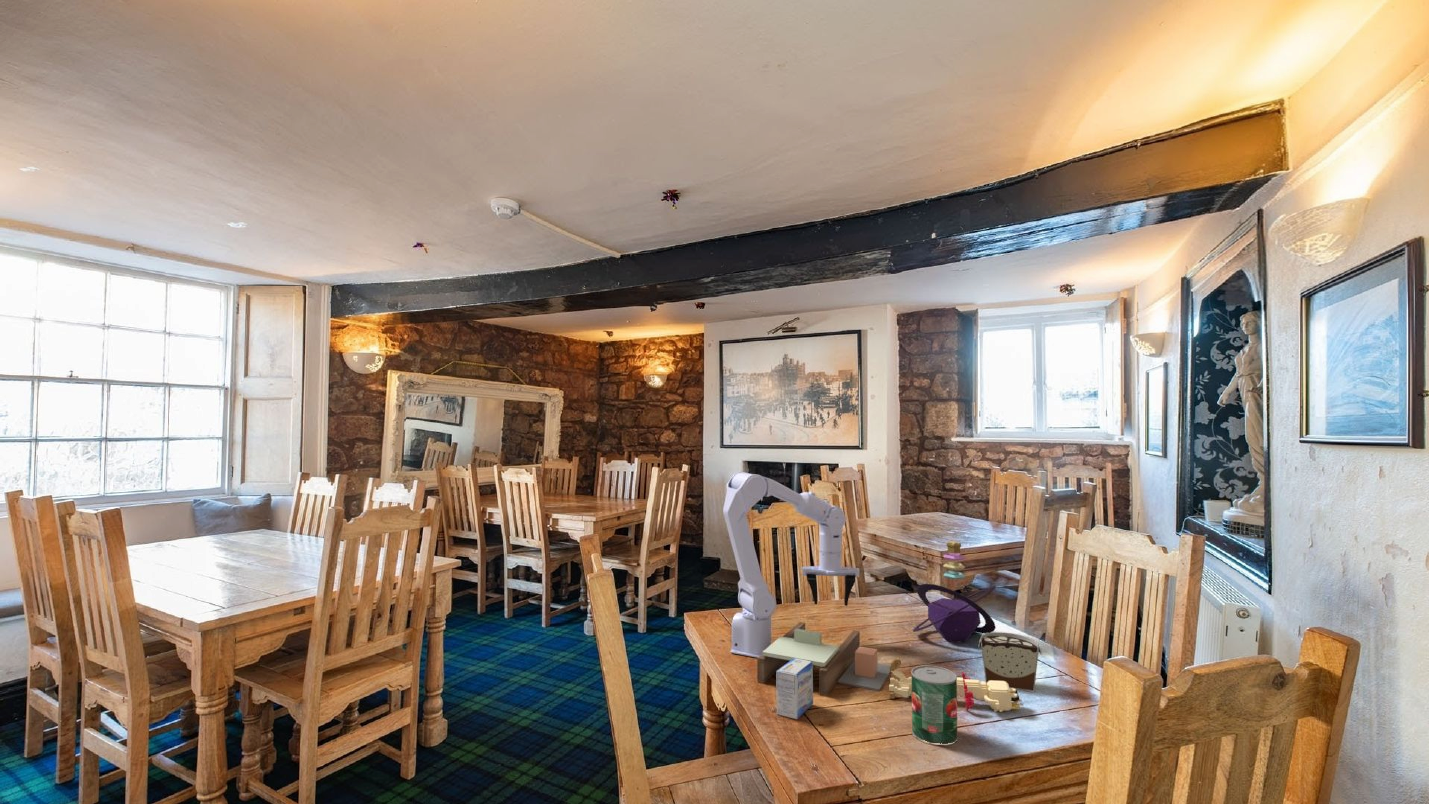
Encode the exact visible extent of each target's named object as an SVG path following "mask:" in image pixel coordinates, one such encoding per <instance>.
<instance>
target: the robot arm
mask: <svg viewBox="0 0 1429 804" xmlns="http://www.w3.org/2000/svg"><path fill="white" fill-rule="evenodd" d="M771 496H773V497H774V498H777V499H779V500H782V501H783V502H785V503H788V504H791V505H792V506H794V510H795V512H796V513H798V514H800V515H802V516H803V517H806V518H808V519H810V520H812V521H815V522H816V523H817V524H818V527H819V528H818V530H819V533H818V534H819V536H818V537H819V539H818V540H819V550H818V551H819V555H818V556H819V558H818V559H819V565H813V566H812V565H810V566H802V568H801V569H802V571H801V572H802V574H801V575H802V576H805V577H806V580H807V583H808V585H809V588H810V590H811V593H812V597H813V600H814V605H818V595H817V576H823V577H824V576H825V577H844V597H843V598H844V599H843V600H844V601H843V602H844V606H846V607H847V606H848V604H849V599H850V595H851V592H852V589H853V588H854V585H855V583H856V578H860V568H859V567H857V568H856V567H849V566H848V567H847V566H843V565H842V563H843V554H842V553H843V548H842V547H843V545H842V543H843V540H842V535H843V528H844V525H846V521H847V515H845V512H844V510H843V509H842V508H841V507H840V506H839V505H838V506H837V505H833V504H831V503H830V501H829V500H827V499H824V500H823V499H822V498H820V497H818V496H816V493H815V492H813V491H803V492H801V493H798V492H796V491H795V490H792V489H791V488H789V487H787V486H785V485H783V484H781V483H780V482H778V481H776V480H775V479H772V478H769V477H766V476H762V475H760V474H755V473H754V474H753V473H749V472H745V471H738V472H735V473H734V474H733V475H732V476H731V477H730V478H729V480H728V482H727V483H726V495H725V498H724V499H725V500H724V505H723V508H722V509H723V510H722V511H723V517H724V520H725V525H726V529H727V532H728V535H729V540H730V543H731V544H730V545H731V547H732V551H733V555H734V559H735V563H736V566H737V570H738V574H739V578H740V579H739V581H738V582H737V587H738V595H737V600H738V603H739V605H740V606H741V607H742V612H736V613H734V615H733V618H732V621H731V650H730V654H736V655H741V656H747V657H752V658H758V657H759V656H760V655H762V654H763V651H764V650H765V649H766V648H768V647H769V646H770V645H771V644H772V615H773V614H774V613H775V610H776V608H777V600H776V598H775V596H774V595H773V594H772V593H771V592H770V588H769V585H768V583H767V582H766V580H765V579H764V577H763V576H762V572H761V568H760V564H759V561H758V557H757V553H756V549H755V545H754V541H753V536H752V532H751V527H750V524H749V522H748V517H747V514H749V511H750V510H751V508H752V507H753V506H755V505H756V504H757V503H758V502H759V501H761V500H762V499H763V497H771Z"/></svg>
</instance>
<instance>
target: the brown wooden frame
mask: <svg viewBox="0 0 1429 804" xmlns="http://www.w3.org/2000/svg"><path fill="white" fill-rule="evenodd" d="M795 629H802V630H806V622H803V621H802V622H801V621H800V622H798V623H797V624H796V625H794V626H793V627H792V628H791V629H789V630H788V631H787V632H786V633H785V634H784V635H783V636H782V637H787V638H793V639H794V630H795ZM860 634H861V633H860V630H854V629H853V631H852V632H850V634H848V636H847V637H846V638H845V639H844V640H843V642H842V643H841V644H839V645H838V646H839V650H838V652H837V653H836V654H835V655H834V656H833V657H832V659H831V660H830V661H829V662H828V663H827V664H826V666H825V667H823V666H820V668H819V670H818V672H819V673H818V675H819V677H818V679H819V682H818V684H819V686H818V692H819V693H818V694H819V696H824V697H827V696H828V694H830V692H831V691H832V690H833V688H834V687H835V686H836V685H837V684H838V680H839V679H840V678H841V676H842V675H843V674H844V672H845V671H846V670H847V668H848V667H849V666H850V665H851V663H852V662H853V661H854V659H855V652H856V650H857V649H858V648H859V647H861V646H860V643H861V642H860V640H861V639H860V637H861V635H860ZM756 658H757V657H756ZM756 662H757V664H756V666H757V667H756V668H757V669H756V671H757V672H756V674H757V676H756V677H757V683H760V684H765V683H766V682H767V681H768V680H769V679H770V678H771V677H772V676H773V675H774V674H775V673H776V671H777V670H779V669H780V668H781V667H783V666H784V665H785V664H786V663H788V662H789V660H784V659H779V658H774V657H768V656H763V654H762V655H760V656H759V657H758V658H757V661H756Z"/></svg>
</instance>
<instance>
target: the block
mask: <svg viewBox="0 0 1429 804" xmlns="http://www.w3.org/2000/svg"><path fill="white" fill-rule="evenodd" d="M877 663H878V648H877V649H876V648H871V647H864V646H860V647H859V648H858V649H857V650H856V652H855V675H858V676H864V677H869V678H874V676H875V675H876V673H877Z"/></svg>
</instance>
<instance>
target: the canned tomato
mask: <svg viewBox="0 0 1429 804" xmlns="http://www.w3.org/2000/svg"><path fill="white" fill-rule="evenodd" d="M910 673H911V677H912V696H911V733H912V735H913V737H914V736H915V737H914V738H916V737H917V738H918V739H920V740H925V741H927V742H929V743H940V744H941V743H942V744H948V743H953V742H955V741H956V740H957V739H958V740H959V738H958V695H957V677H958V676H957V674H956V673H955V672H954V671H952V670H950V669H948V668H945V667H941V666H937V665H928V664H926V665H918V666H915V667H913V668H912V669H911V671H910ZM917 738H916V739H917ZM918 739H917V740H918ZM920 740H919V741H920ZM958 740H957V741H958Z"/></svg>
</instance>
